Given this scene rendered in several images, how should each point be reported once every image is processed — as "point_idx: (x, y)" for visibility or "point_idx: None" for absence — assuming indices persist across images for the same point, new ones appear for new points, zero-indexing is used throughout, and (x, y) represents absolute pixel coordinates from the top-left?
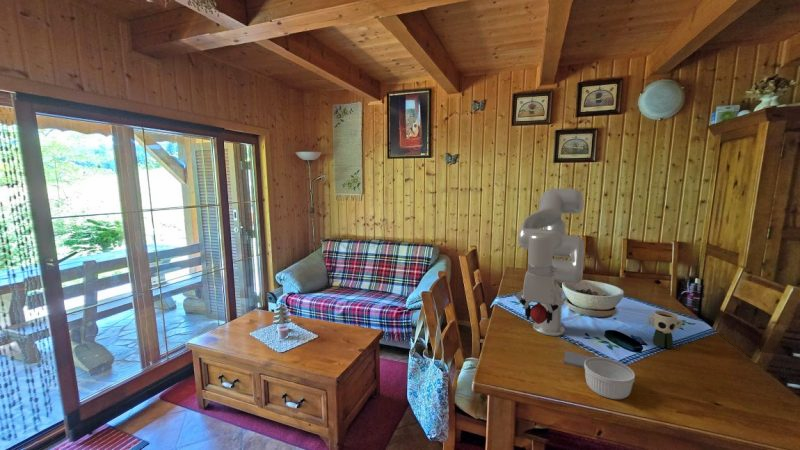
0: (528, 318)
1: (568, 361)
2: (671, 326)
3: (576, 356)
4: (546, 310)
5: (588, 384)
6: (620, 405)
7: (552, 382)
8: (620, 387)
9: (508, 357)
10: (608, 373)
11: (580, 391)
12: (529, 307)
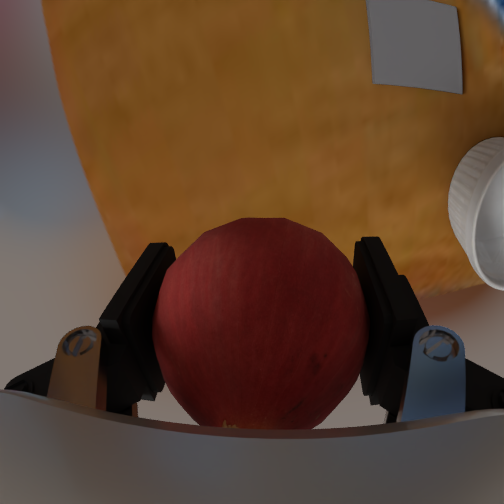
0: None
1: (392, 77)
2: None
3: (414, 22)
4: (359, 369)
5: (452, 227)
6: None
7: (345, 242)
8: None
9: (158, 159)
10: None
11: (423, 247)
12: (135, 354)
